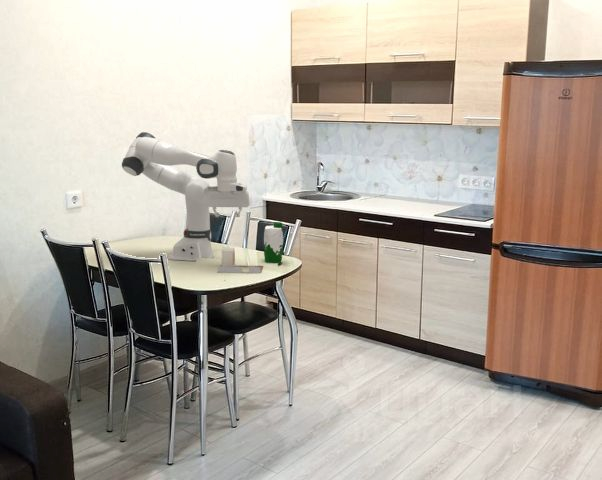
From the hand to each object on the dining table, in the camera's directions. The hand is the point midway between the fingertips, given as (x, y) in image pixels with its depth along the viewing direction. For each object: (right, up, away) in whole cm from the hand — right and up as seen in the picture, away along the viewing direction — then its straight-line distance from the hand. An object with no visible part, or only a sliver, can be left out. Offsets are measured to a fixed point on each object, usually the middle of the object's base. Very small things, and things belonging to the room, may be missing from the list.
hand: (227, 216), depth 289 cm
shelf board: (+6, -25, +3) cm, 26 cm away
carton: (0, -23, +5) cm, 24 cm away
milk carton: (+20, -22, +19) cm, 36 cm away
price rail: (+6, -25, -4) cm, 26 cm away
